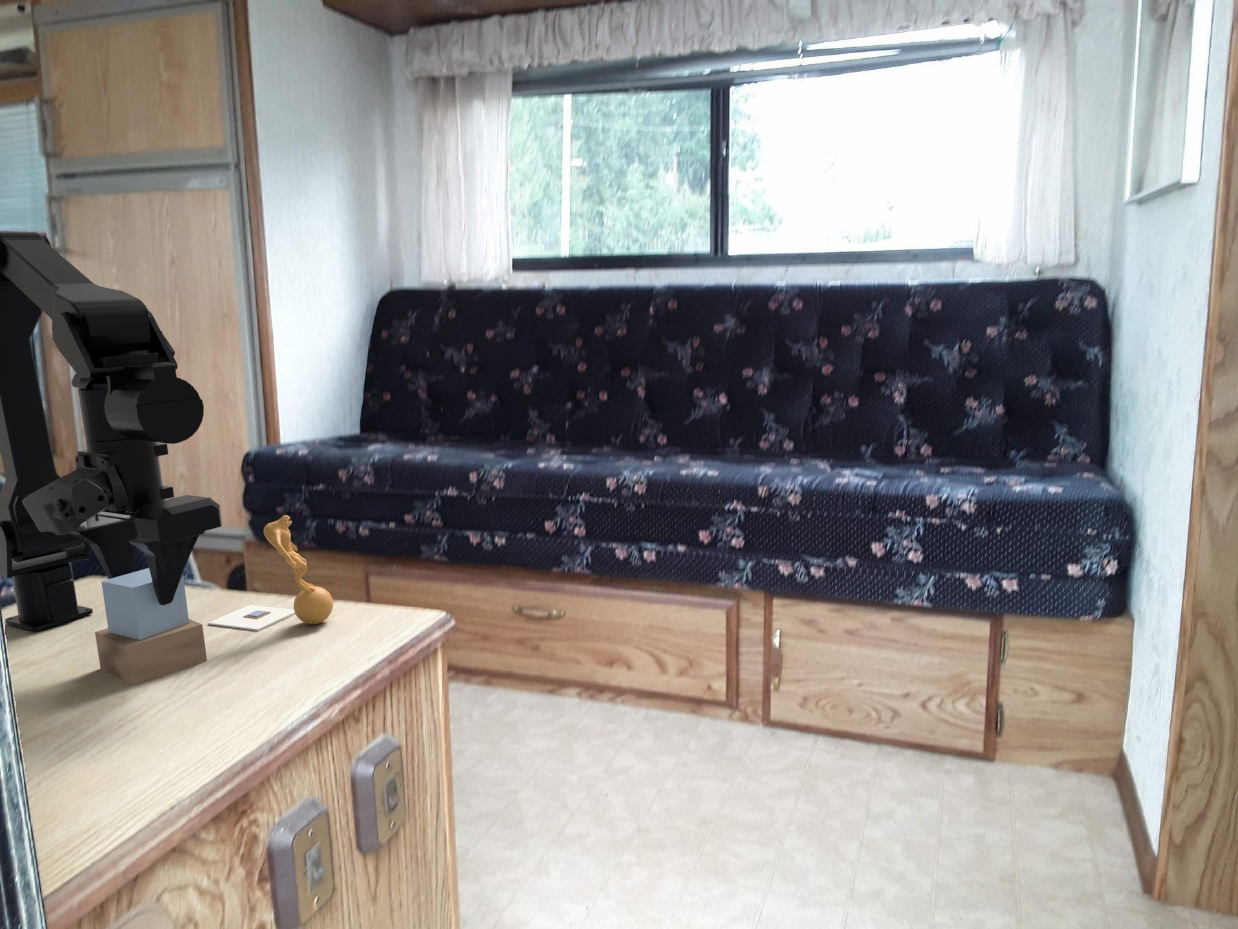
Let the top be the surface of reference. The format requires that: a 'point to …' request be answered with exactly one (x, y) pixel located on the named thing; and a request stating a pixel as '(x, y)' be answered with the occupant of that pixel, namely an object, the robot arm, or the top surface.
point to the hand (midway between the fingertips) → (144, 599)
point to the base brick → (151, 652)
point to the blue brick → (141, 606)
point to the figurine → (299, 575)
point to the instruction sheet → (253, 617)
